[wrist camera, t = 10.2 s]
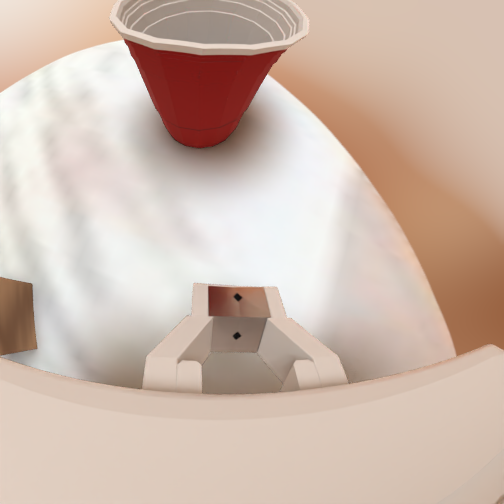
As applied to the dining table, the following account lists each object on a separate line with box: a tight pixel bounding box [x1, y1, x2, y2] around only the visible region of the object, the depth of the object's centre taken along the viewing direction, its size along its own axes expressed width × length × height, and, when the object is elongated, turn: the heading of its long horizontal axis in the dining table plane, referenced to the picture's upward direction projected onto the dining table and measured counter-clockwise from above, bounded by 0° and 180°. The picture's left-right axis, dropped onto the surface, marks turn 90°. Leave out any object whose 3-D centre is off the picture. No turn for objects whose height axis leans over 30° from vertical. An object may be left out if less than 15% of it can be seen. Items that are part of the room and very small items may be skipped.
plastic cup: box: [109, 0, 309, 148], centre depth 15 cm, size 11×11×12 cm
